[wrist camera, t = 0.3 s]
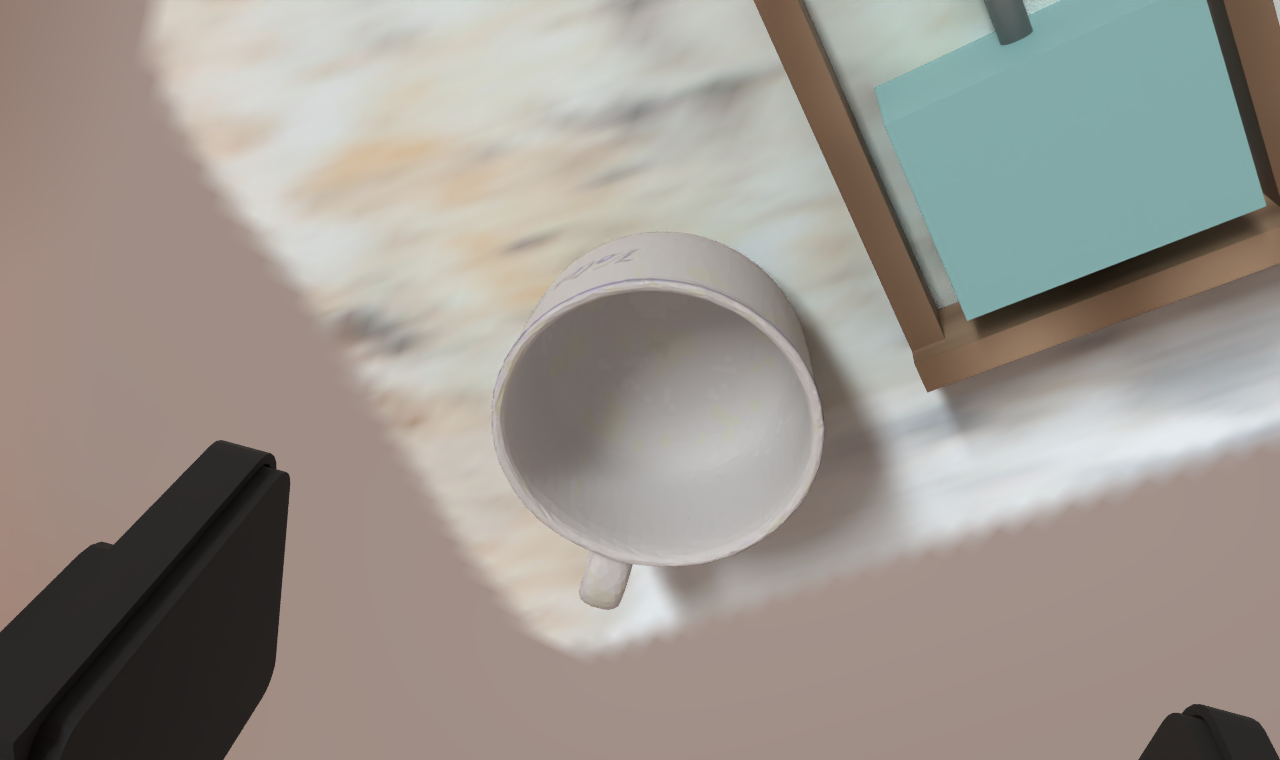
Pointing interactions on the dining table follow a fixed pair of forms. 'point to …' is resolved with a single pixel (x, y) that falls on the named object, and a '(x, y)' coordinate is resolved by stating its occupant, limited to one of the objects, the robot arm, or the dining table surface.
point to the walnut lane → (957, 349)
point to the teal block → (1070, 143)
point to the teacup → (659, 407)
